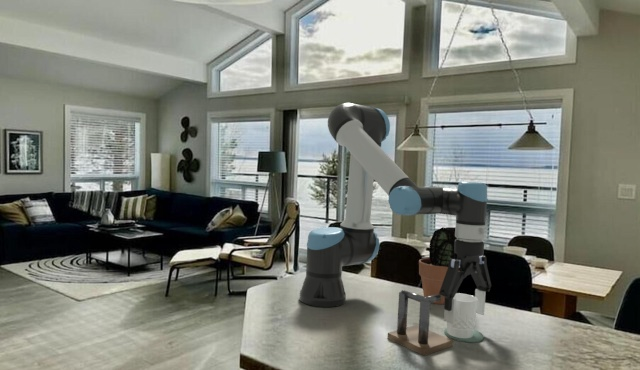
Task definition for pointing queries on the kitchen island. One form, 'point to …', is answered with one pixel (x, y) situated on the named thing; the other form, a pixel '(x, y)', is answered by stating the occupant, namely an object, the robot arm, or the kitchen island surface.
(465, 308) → the white cup
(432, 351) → the brown wooden board
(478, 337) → the end coaster
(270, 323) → the kitchen island surface
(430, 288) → the potted plant
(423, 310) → the bent wire
